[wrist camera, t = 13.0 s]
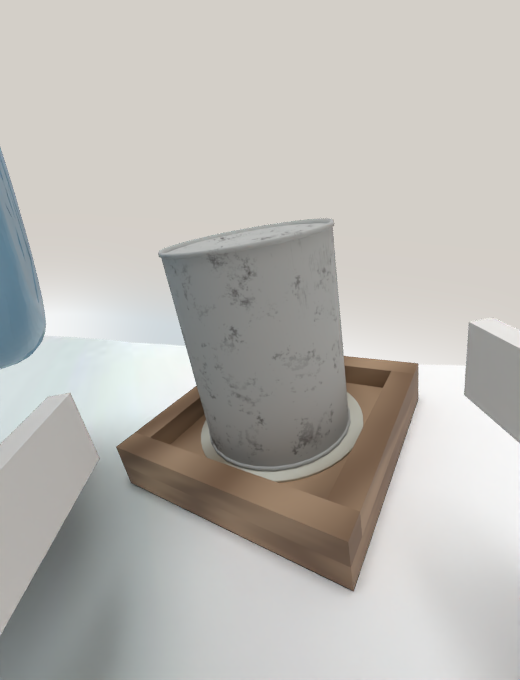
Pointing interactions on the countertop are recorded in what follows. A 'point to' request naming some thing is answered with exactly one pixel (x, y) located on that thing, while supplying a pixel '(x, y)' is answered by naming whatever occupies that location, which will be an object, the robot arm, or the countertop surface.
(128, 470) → the walnut seat tray
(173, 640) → the countertop surface
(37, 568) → the robot arm
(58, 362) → the countertop surface
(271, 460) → the speckled white cylinder
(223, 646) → the countertop surface
